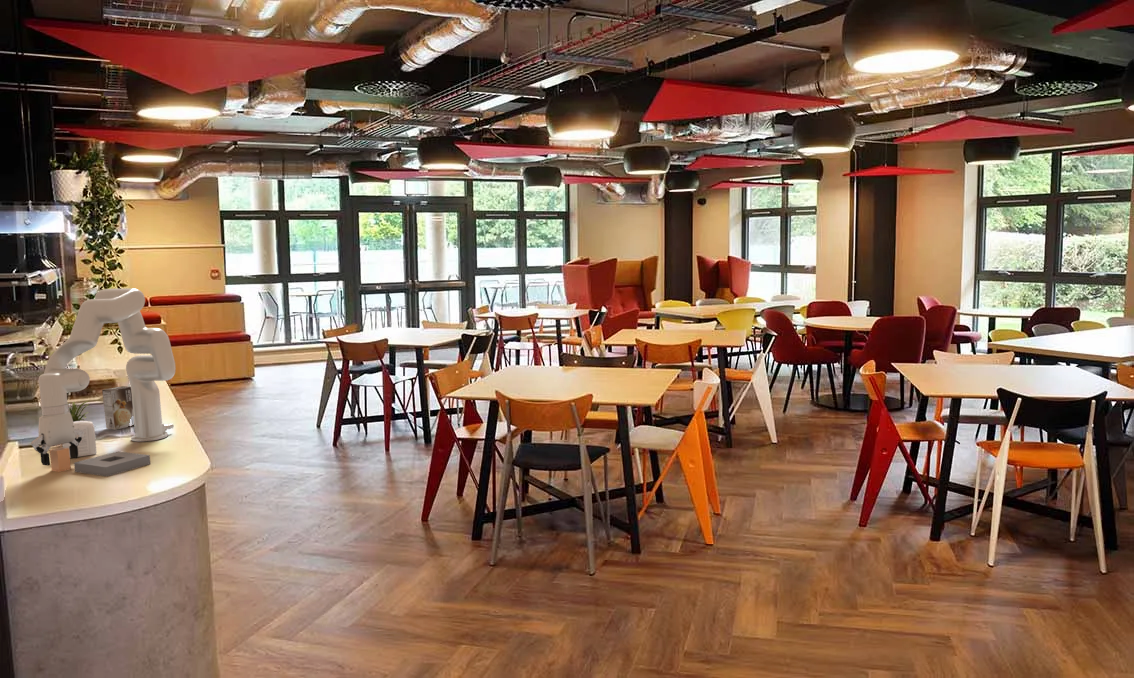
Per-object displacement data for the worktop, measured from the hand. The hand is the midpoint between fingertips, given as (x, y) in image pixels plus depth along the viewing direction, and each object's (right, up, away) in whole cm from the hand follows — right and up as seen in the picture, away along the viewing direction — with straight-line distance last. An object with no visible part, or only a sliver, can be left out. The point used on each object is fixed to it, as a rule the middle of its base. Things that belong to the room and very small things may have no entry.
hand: (60, 461), depth 293 cm
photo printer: (-4, -1, +19) cm, 19 cm away
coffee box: (-13, +4, +66) cm, 68 cm away
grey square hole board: (+17, -2, +1) cm, 17 cm away
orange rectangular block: (0, -3, 0) cm, 3 cm away
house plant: (-17, +1, +41) cm, 45 cm away
